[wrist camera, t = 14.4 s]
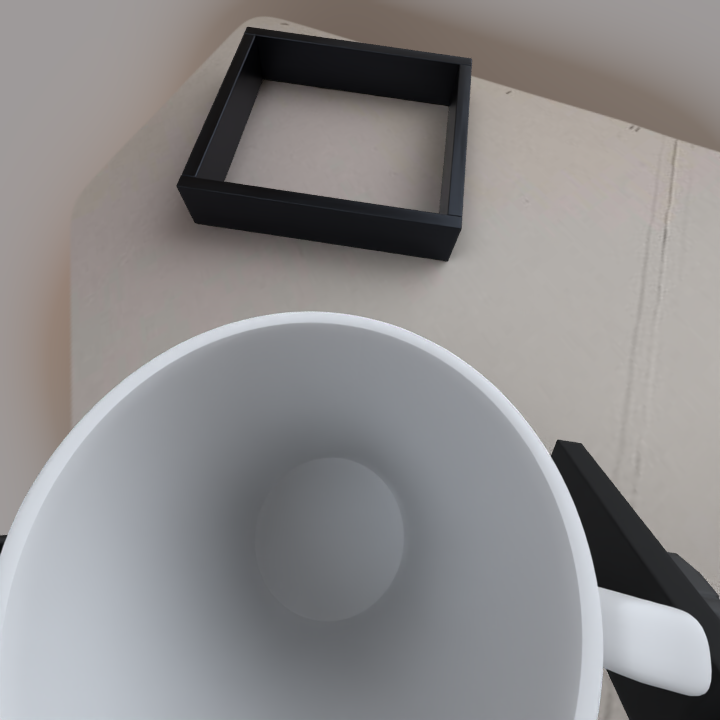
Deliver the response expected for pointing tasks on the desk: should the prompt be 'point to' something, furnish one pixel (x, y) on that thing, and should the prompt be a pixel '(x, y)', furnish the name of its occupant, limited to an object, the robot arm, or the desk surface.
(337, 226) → the black square frame
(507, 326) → the desk surface
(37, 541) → the mug
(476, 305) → the desk surface
